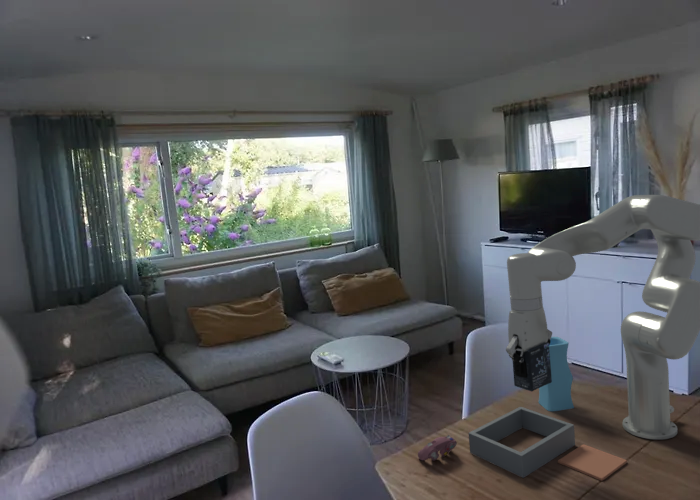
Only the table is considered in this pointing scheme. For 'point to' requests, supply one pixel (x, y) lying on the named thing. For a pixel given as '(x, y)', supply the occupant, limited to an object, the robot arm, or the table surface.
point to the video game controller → (437, 448)
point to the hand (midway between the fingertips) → (532, 370)
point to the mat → (592, 462)
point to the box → (535, 368)
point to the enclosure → (529, 459)
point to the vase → (557, 379)
